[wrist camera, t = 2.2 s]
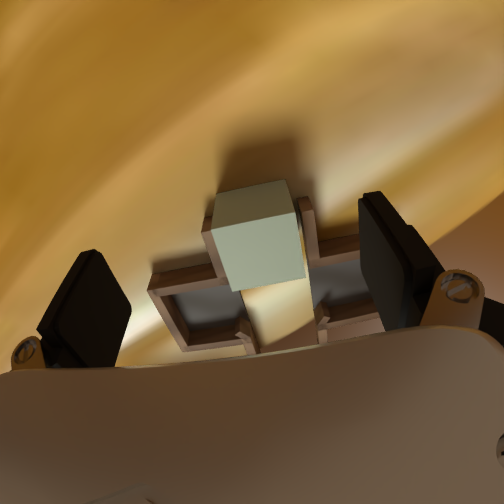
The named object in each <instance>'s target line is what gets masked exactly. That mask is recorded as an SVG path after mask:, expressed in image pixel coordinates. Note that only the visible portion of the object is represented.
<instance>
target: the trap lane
mask: <svg viewBox="0 0 504 504" xmlns="http://www.w3.org/2000/svg"><path fill="white" fill-rule="evenodd" d="M297 202H298V208H299V214H300V220H301V226H302V232H303V239H304V245H305V252H306V258H307V265H308V272H309V279H310V286H311V293H312V301H313V308H314V309H313V311H314V316H315V324H316V332H317V341H318V344H322V343H328V339H327V329H331V328H335V327H340V326H345V325H350V324H354V323H358V322H363V321H367V320H371V319H376V318H380V316H379V313H378V311H377V308H376V306H375V303H374V301H373V299H372V296H371V294H370V291H369V289H368V286H367V284H366V282H365V279H364V277H363V275H362V272H361V267H360V237H359V234H356V235H351V236H346V237H341V238H336V239H331V240H326V241H321V242H318V240H317V232H316V224H315V217H314V210H313V207H312V205H311V202H310V200H309V197H308V196H307V197H302V198H297ZM212 218H213V216H210V217H206V218H204V221H203V226H202V231H201V234H202V237H203V239H204V242H205V245H206V248H207V250H208V253H209V256H210V259H211V261H212V263H209V264H204V265H198V266H193V267H188V268H183V269H178V270H173V271H168V272H162V273H157V274H152V276H151V279H150V282H149V285H148V288H147V292H148V294H149V296H150V298H151V299H152V301H153V303H154V305H155V306H156V308H157V310H158V312H159V313H160V315H161V317H162V319H163V320H164V322H165V324H166V325H167V327H168V329H169V331H170V332H171V334H172V336H173V337H174V339H175V341H176V342H177V344H178V345H179V347H180V349H181V350H182V352H189V351H198V350H206V349H214V348H221V347H228V346H235V345H242V344H243V345H244V347H245V350H246V352H247V355H254V354H261V353H260V349H259V347H258V344H257V341H256V338H255V335H254V332H253V329H252V326H251V323H250V320H249V318H248V315H247V312H246V309H245V306H244V303H243V300H242V297H241V294H240V291H234V292H232V289H231V287H230V284H229V281H228V278H227V275H226V273H225V270H224V267H223V264H222V261H221V258H220V255H219V253H218V250H217V247H216V244H215V241H214V238H213V235H212V232H211V224H212Z"/></svg>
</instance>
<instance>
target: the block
mask: <svg viewBox="0 0 504 504" xmlns="http://www.w3.org/2000/svg"><path fill="white" fill-rule="evenodd" d="M211 232H212V235H213V238H214V241H215V244H216V247H217V250H218V253H219V255H220V258H221V261H222V264H223V267H224V270H225V273H226V275H227V278H228V281H229V284H230V287H231V289H232V292H234V291H239V290H245V289H250V288H255V287H261V286H266V285H271V284H276V283H282V282H287V281H292V280H297V279H302V278H306V275H305V268H304V262H303V256H302V249H301V243H300V237H299V231H298V225H297V220H296V214H295V210H294V207H293V203H292V200H291V197H290V193H289V190H288V187H287V184H286V181H285V179H283V180H278V181H273V182H268V183H264V184H259V185H254V186H249V187H245V188H240V189H236V190H231V191H227V192H222V193H218V194H216V199H215V205H214V211H213V218H212V224H211Z"/></svg>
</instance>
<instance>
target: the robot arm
mask: <svg viewBox="0 0 504 504" xmlns="http://www.w3.org/2000/svg"><path fill="white" fill-rule="evenodd" d="M358 212H359V237H360V267H361V272H362V275H363V277H364V279H365V282H366V284H367V286H368V289H369V291H370V294H371V296H372V299H373V301H374V303H375V306H376V308H377V311H378V313H379V316H380V318H381V321H382V324H383V326H384V329H385V331H386V332H381V333H375V334H370V335H364V336H359V337H354V338H350V339H344V340H339V341H334V342H328V343H322V344H316V345H311V346H305V347H299V348H294V349H288V350H281V351H275V352H269V353H261V354H254V355H246V356H238V357H230V358H222V359H213V360H204V361H194V362H183V363H171V364H158V365H143V366H126V367H115V363H116V360H117V356H118V353H119V350H120V347H121V343H122V340H123V337H124V334H125V331H126V328H127V325H128V322H129V319H130V316H131V312H132V308H131V304H130V302H129V301H128V299H127V297H126V296H125V294H124V292H123V291H122V289H121V287H120V285H119V284H118V282H117V280H116V278H115V277H114V275H113V273H112V271H111V270H110V268H109V266H108V264H107V262H106V260H105V259H104V257H103V255H102V253H100V252H98V251H97V250H95V249H92V250H88V251H84V252H81V253H80V254H79V256H78V257H77V259H76V260H75V262H74V264H73V265H72V267H71V269H70V270H69V272H68V273H67V275H66V277H65V278H64V280H63V282H62V283H61V285H60V287H59V289H58V290H57V292H56V294H55V296H54V297H53V299H52V301H51V303H50V304H49V306H48V308H47V310H46V312H45V314H44V315H43V317H42V319H41V321H40V323H39V325H38V327H37V329H36V330H37V331H38V332H39V334H40V335H41V336H42V339H41V341H40V340H39V338H37V337H36V336H30V337H27V338H26V339H24V340H22V341H21V342H20V343H19V344H18V345H17V347H16V348H15V349H14V351H13V353H12V356H11V367H12V370H11V371H9V372H6V373H3V374H1V375H0V504H504V304H502V303H499V302H497V301H494V300H491V299H489V298H486V297H484V295H485V290H484V286H483V284H482V282H481V281H480V280H479V279H478V277H476V276H475V275H473V274H472V273H470V272H467V271H465V270H459V269H453V270H448V271H445V270H444V268H443V267H442V265H441V264H440V262H439V261H438V260H437V258H436V257H435V255H434V254H433V253H432V251H431V250H430V249H429V247H428V246H427V244H426V243H425V241H424V240H423V239H422V237H421V236H420V235H419V233H418V232H417V231H416V229H415V228H414V227H413V226H412V225H407V224H406V223H405V221H404V220H403V219H402V217H401V216H400V215H399V214H398V212H397V211H396V210H395V208H394V207H393V206H392V205H391V203H390V202H389V201H388V200H387V198H386V197H385V196H384V195H383V193H382V192H381V191H376V192H369V193H364V194H363V198H360V199H358Z"/></svg>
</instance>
